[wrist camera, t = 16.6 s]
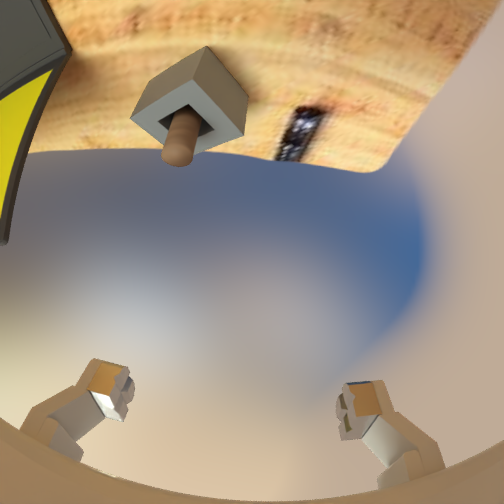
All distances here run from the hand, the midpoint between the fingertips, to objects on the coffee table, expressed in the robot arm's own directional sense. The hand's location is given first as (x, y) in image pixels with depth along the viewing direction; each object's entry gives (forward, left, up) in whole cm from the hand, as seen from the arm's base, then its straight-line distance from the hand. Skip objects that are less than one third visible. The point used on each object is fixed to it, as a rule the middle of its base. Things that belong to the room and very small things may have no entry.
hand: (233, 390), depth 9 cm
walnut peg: (+6, -14, -30) cm, 34 cm away
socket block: (+6, -14, -33) cm, 37 cm away
